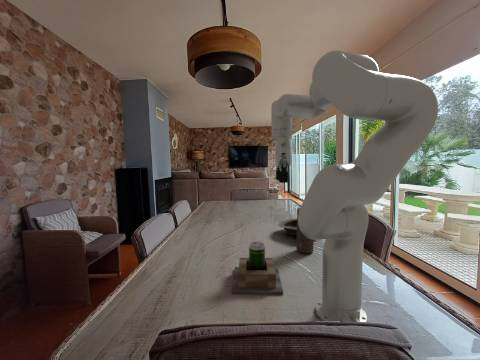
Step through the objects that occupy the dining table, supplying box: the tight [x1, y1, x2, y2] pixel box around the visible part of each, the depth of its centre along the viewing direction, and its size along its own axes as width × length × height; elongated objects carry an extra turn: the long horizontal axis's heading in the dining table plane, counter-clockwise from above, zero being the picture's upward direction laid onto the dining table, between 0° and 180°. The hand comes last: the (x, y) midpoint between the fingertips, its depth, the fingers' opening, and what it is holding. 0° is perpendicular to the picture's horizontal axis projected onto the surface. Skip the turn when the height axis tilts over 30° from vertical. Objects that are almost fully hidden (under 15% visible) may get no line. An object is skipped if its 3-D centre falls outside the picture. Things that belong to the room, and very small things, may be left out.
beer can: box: [248, 241, 266, 270], centre depth 79 cm, size 5×5×12 cm
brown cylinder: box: [295, 207, 314, 254], centre depth 103 cm, size 8×7×20 cm
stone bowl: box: [277, 218, 297, 236], centre depth 126 cm, size 25×25×9 cm
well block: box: [231, 257, 284, 296], centre depth 80 cm, size 16×16×6 cm
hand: (281, 181), depth 87 cm, fingers open, 9 cm apart
